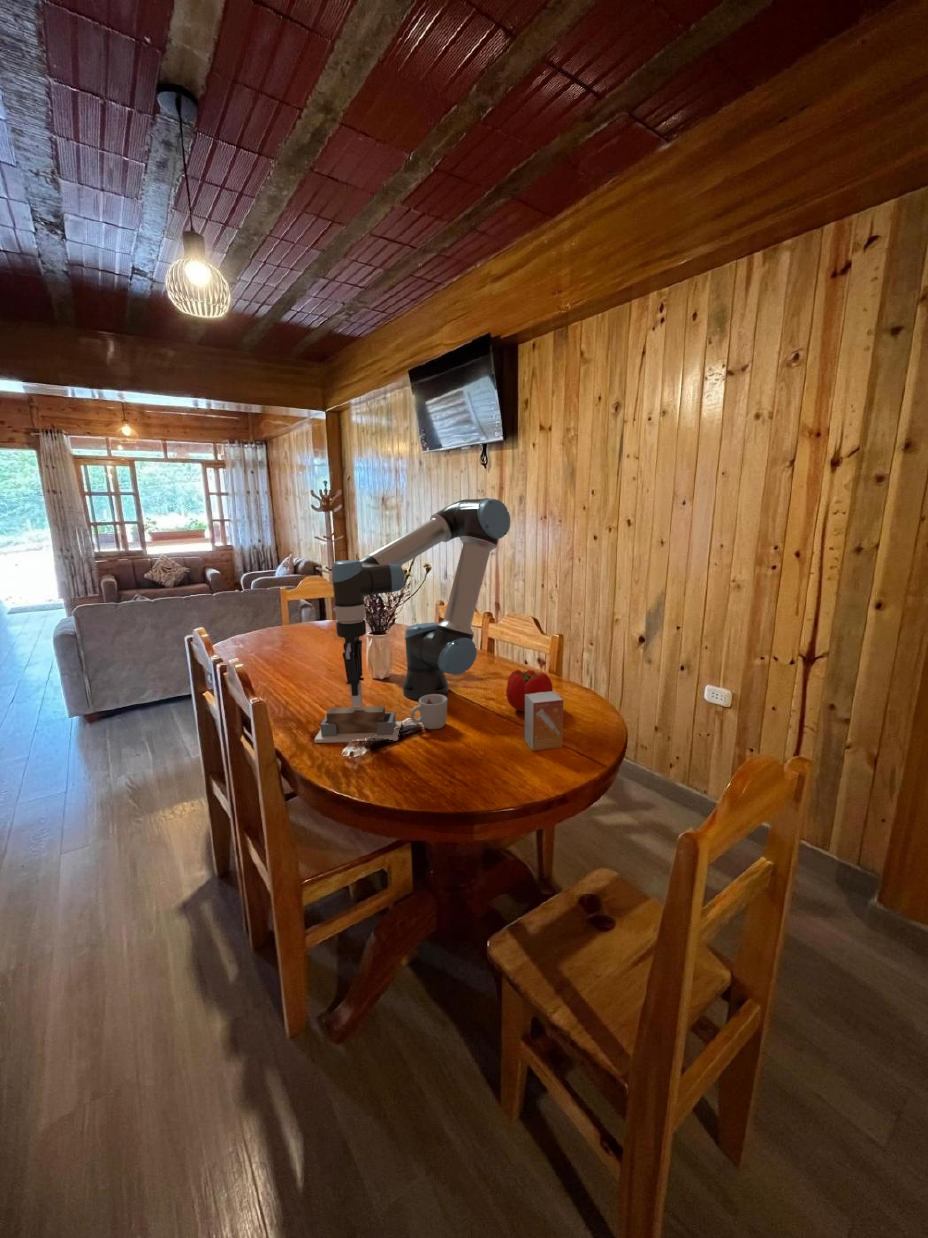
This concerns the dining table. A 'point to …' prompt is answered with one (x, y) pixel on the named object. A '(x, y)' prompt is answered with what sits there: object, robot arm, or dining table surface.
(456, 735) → the dining table surface
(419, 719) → the cup
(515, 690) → the tomato
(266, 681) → the dining table surface
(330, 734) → the board
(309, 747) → the dining table surface
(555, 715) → the small box
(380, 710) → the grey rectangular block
